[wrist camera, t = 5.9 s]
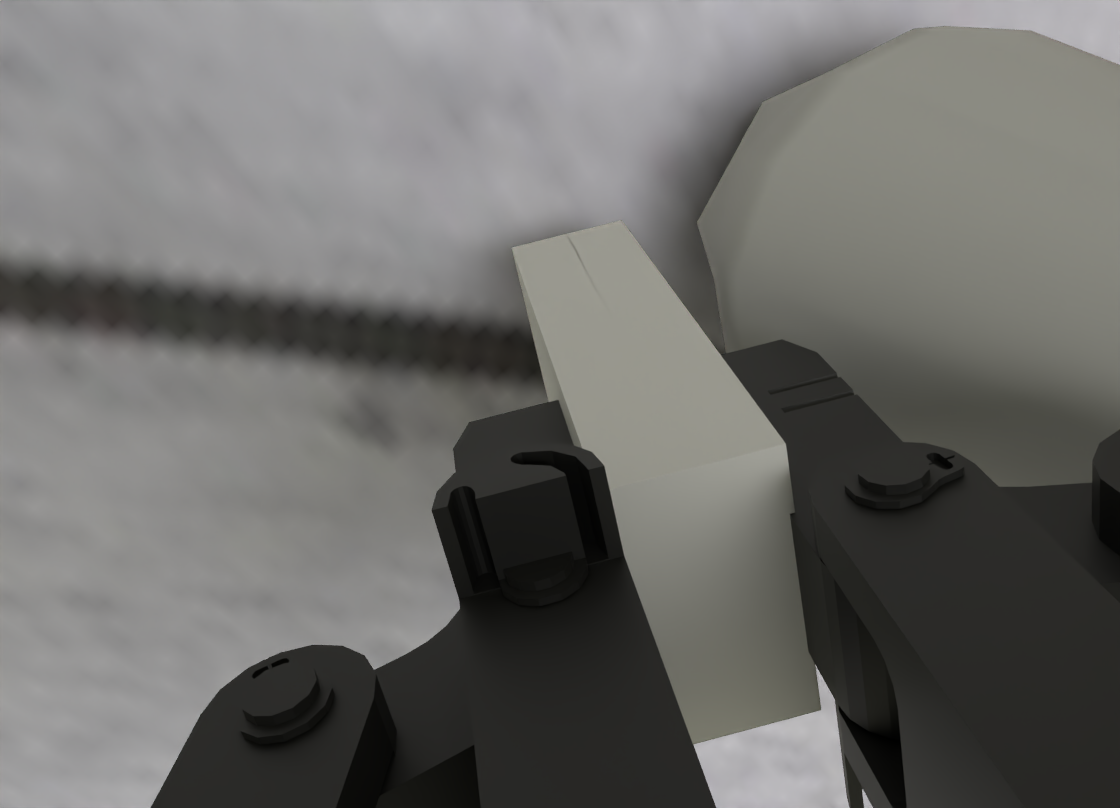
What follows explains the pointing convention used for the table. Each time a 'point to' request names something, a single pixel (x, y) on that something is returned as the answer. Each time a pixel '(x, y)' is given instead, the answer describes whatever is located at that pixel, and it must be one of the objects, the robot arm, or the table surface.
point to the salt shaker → (941, 242)
